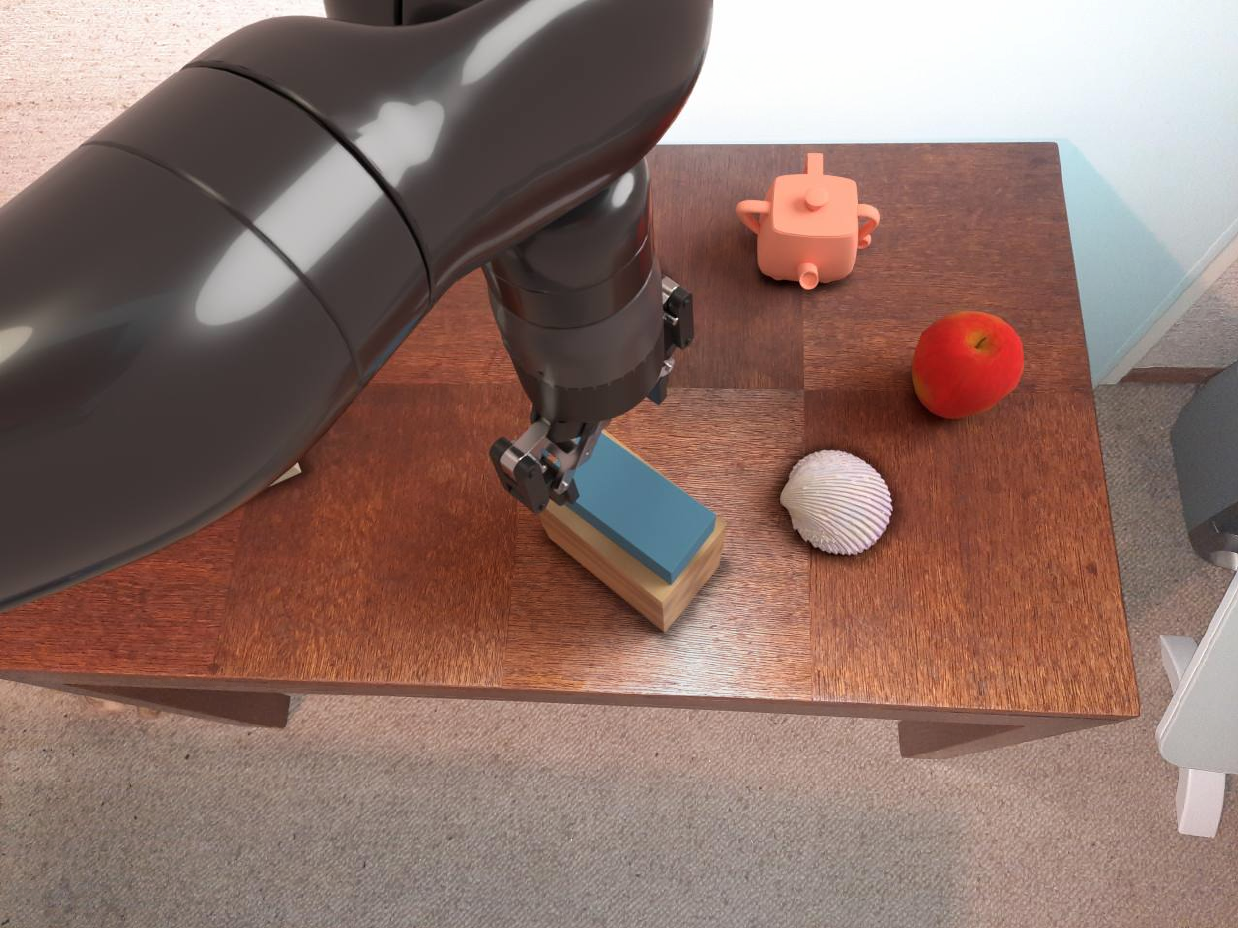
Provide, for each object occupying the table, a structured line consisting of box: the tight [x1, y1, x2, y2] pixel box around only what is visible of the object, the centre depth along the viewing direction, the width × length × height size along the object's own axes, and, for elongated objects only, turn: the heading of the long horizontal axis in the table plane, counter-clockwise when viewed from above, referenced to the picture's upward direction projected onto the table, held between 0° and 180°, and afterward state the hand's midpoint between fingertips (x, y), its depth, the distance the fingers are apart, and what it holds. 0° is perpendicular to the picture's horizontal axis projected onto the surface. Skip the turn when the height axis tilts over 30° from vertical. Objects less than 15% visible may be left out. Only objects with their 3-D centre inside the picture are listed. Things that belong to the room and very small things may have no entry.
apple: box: [911, 310, 1025, 420], centre depth 78 cm, size 9×9×12 cm
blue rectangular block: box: [555, 432, 717, 585], centre depth 65 cm, size 6×12×4 cm, turn 52°
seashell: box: [779, 449, 893, 556], centre depth 79 cm, size 10×6×10 cm
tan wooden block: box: [537, 429, 728, 633], centre depth 73 cm, size 8×14×14 cm, turn 50°
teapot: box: [735, 152, 881, 290], centre depth 85 cm, size 12×12×10 cm
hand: (608, 441), depth 54 cm, fingers open, 8 cm apart
